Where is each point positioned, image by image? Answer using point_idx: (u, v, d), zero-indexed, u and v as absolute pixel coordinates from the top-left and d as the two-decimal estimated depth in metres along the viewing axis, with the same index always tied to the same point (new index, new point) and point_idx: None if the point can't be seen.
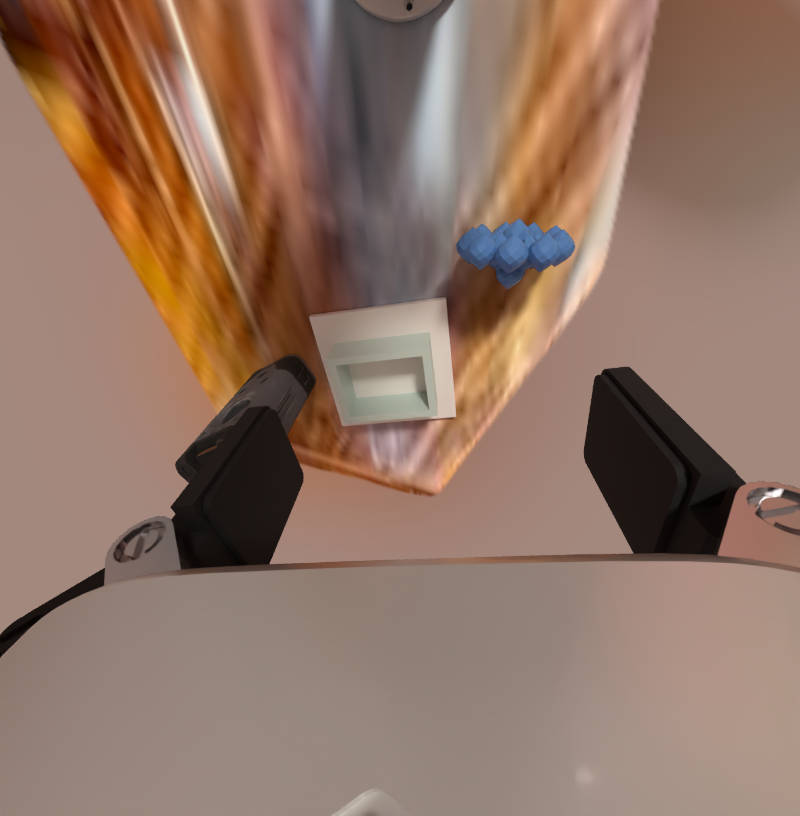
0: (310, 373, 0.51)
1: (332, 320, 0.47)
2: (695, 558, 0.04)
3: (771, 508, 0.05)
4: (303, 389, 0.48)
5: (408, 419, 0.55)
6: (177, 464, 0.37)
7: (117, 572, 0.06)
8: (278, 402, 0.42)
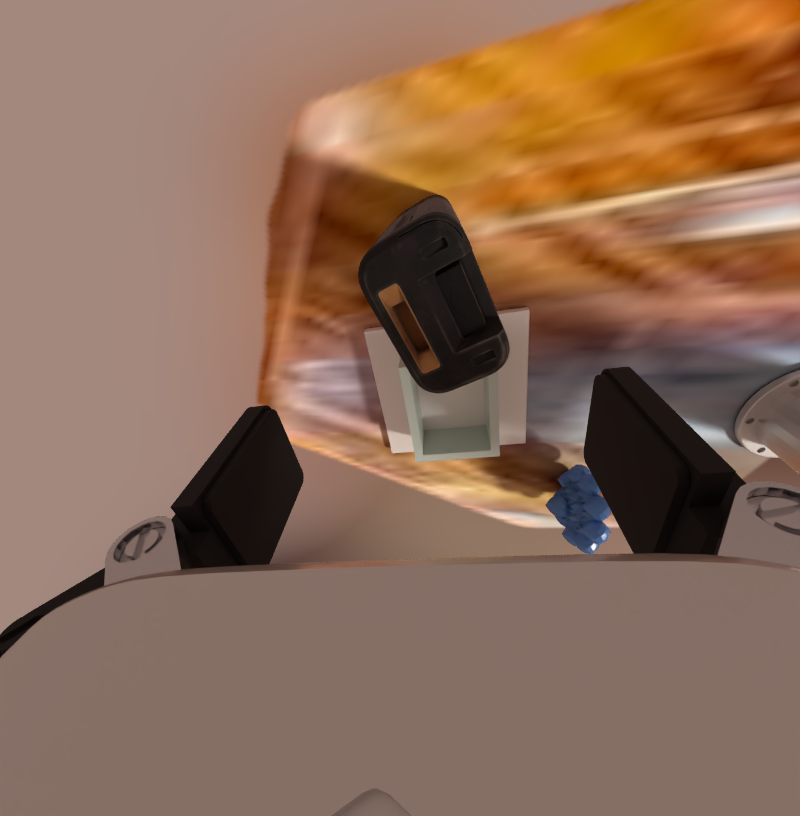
0: None
1: (521, 337, 0.39)
2: (695, 558, 0.04)
3: (770, 508, 0.05)
4: None
5: (384, 410, 0.46)
6: (454, 229, 0.17)
7: (117, 572, 0.06)
8: None
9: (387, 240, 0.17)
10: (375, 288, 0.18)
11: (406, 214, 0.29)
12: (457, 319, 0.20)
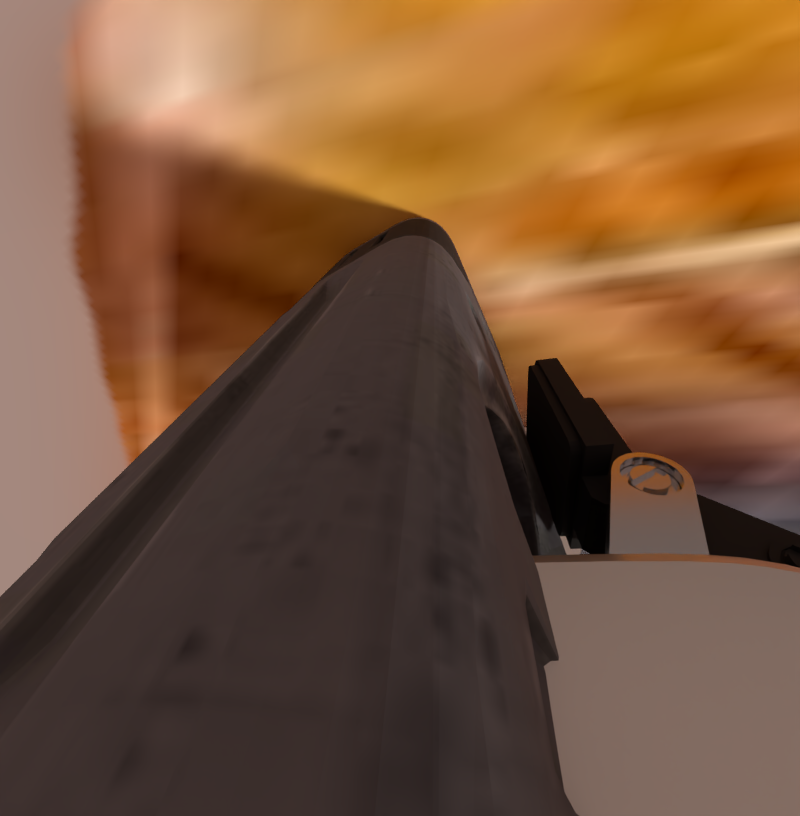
0: None
1: None
2: (695, 558, 0.04)
3: (638, 475, 0.06)
4: None
5: None
6: None
7: None
8: None
9: None
10: None
11: (330, 282, 0.11)
12: None
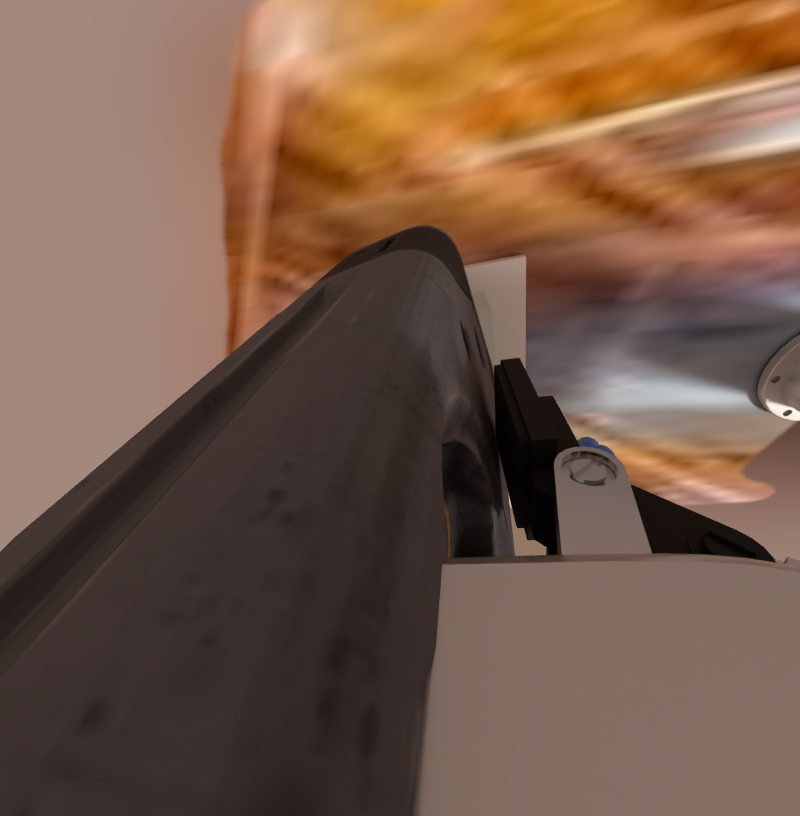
0: None
1: (517, 290, 0.34)
2: (695, 558, 0.04)
3: (578, 469, 0.07)
4: None
5: None
6: None
7: None
8: None
9: None
10: None
11: (329, 286, 0.11)
12: None
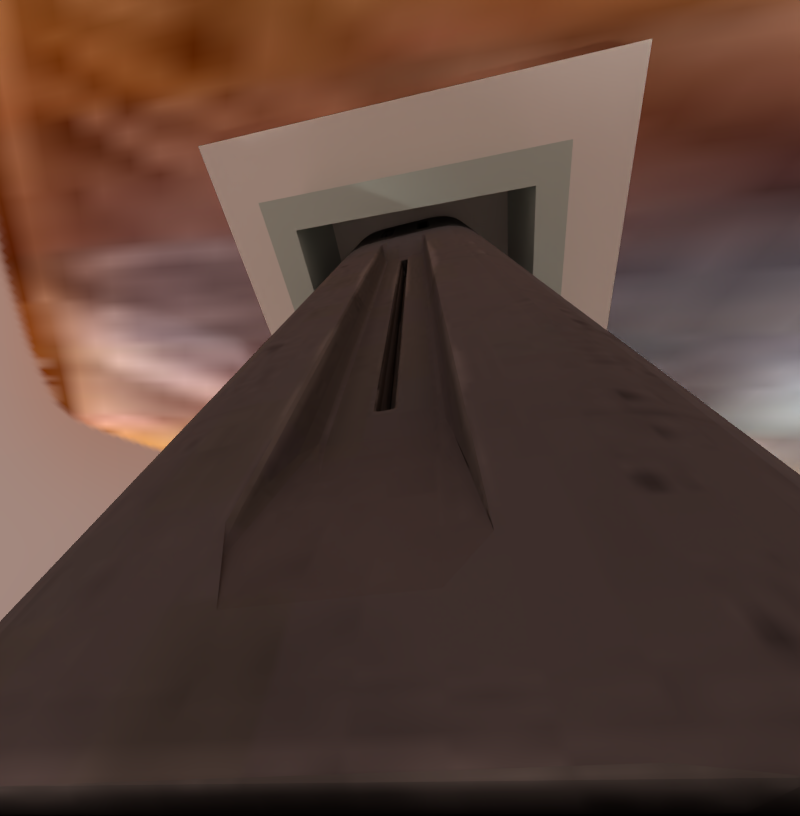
0: None
1: (614, 147, 0.14)
2: None
3: None
4: None
5: None
6: None
7: None
8: None
9: None
10: None
11: (386, 247, 0.11)
12: None
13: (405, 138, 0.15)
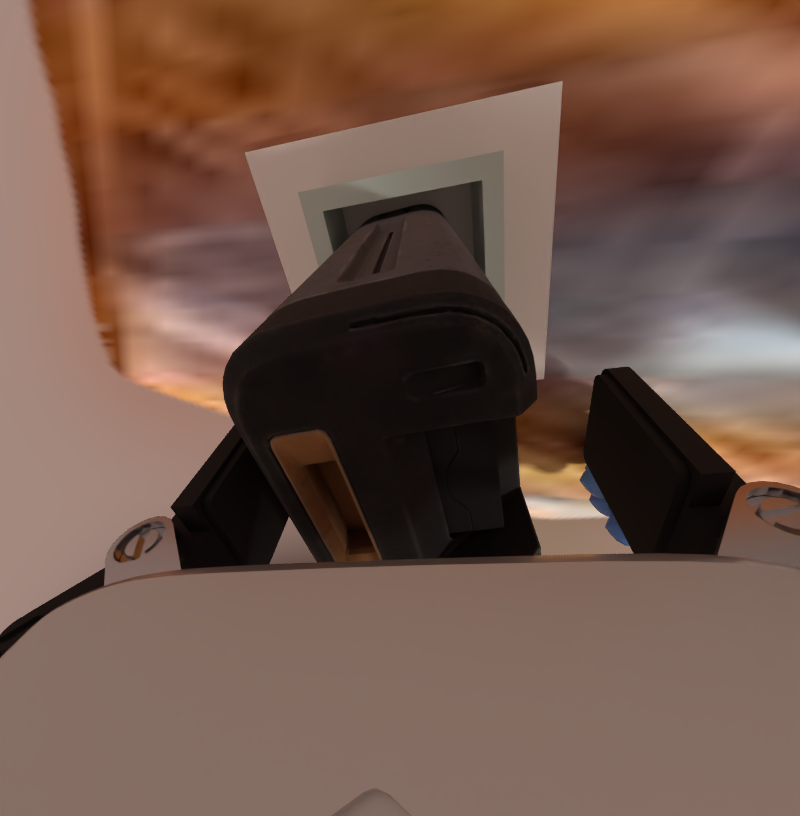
0: None
1: (543, 154, 0.20)
2: (695, 558, 0.04)
3: (771, 508, 0.05)
4: None
5: None
6: (514, 350, 0.06)
7: (117, 572, 0.06)
8: None
9: (317, 323, 0.06)
10: (263, 430, 0.07)
11: (380, 225, 0.17)
12: (449, 507, 0.09)
13: (396, 147, 0.20)
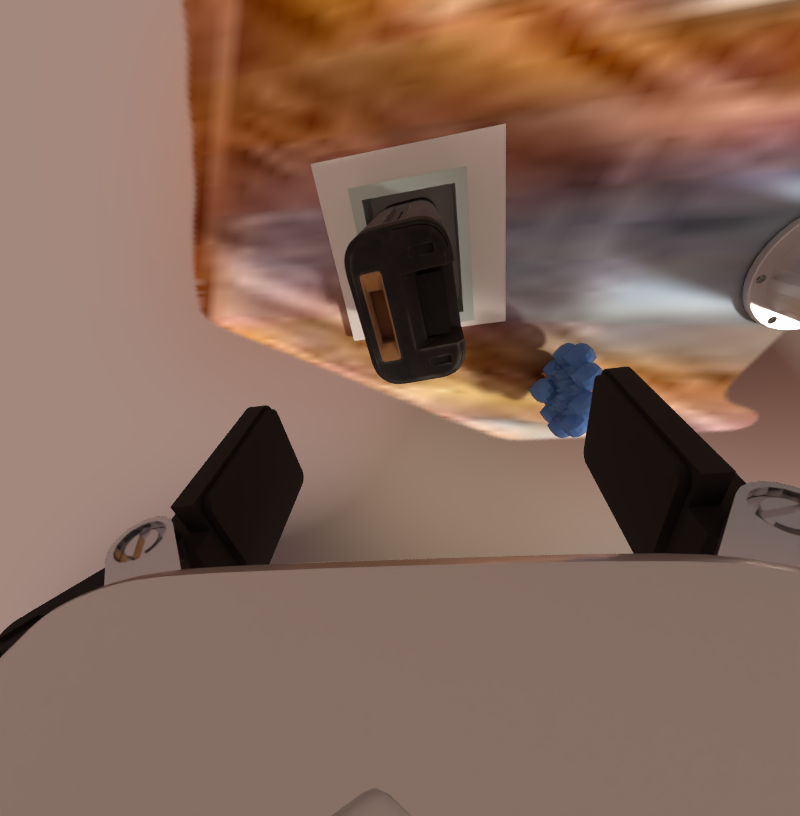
0: None
1: (496, 166, 0.33)
2: (695, 558, 0.04)
3: (771, 508, 0.05)
4: None
5: (341, 279, 0.39)
6: (443, 238, 0.18)
7: (117, 572, 0.06)
8: None
9: (380, 229, 0.18)
10: (358, 271, 0.19)
11: (395, 208, 0.30)
12: (425, 319, 0.21)
13: (405, 161, 0.33)
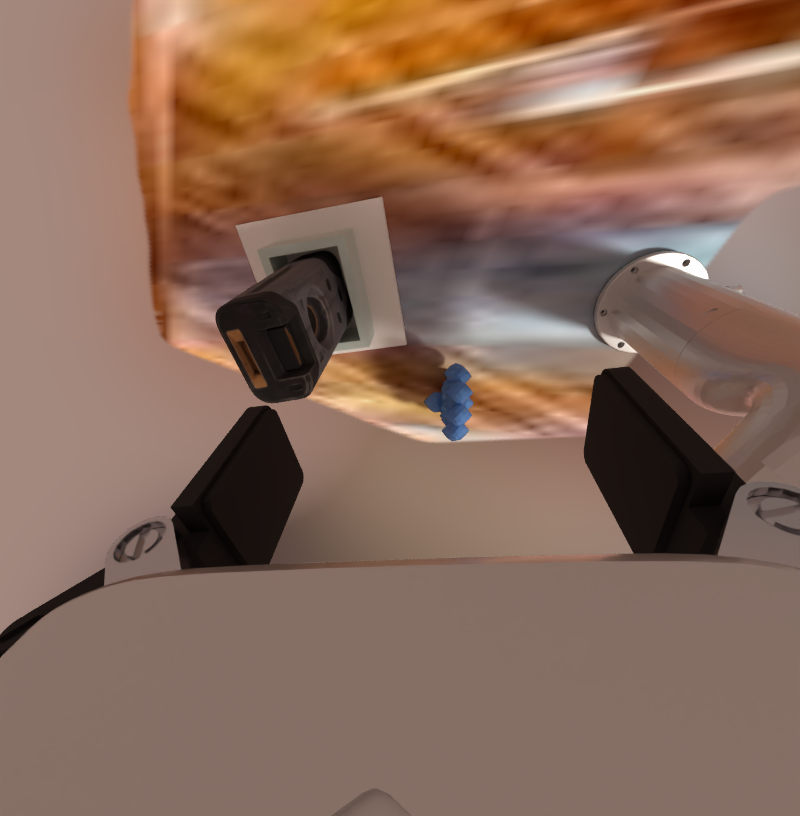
0: None
1: (379, 227, 0.41)
2: (695, 558, 0.04)
3: (771, 508, 0.05)
4: None
5: None
6: (276, 309, 0.27)
7: (117, 572, 0.06)
8: None
9: (235, 303, 0.27)
10: (224, 329, 0.28)
11: (292, 265, 0.39)
12: (281, 359, 0.30)
13: (308, 224, 0.42)
